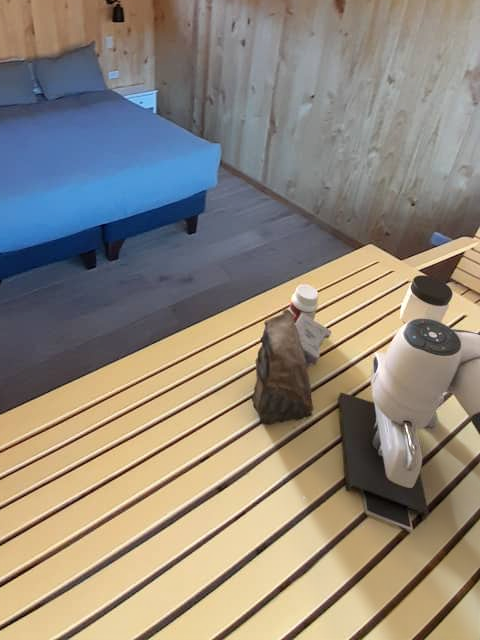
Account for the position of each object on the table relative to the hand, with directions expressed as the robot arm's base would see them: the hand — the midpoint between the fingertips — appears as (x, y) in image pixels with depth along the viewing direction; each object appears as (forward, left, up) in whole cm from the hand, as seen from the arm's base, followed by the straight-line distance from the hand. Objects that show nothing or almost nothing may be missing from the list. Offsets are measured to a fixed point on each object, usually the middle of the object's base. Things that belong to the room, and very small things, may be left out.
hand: (381, 442), depth 76 cm
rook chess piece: (-10, -11, -4) cm, 15 cm away
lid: (0, 0, -3) cm, 3 cm away
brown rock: (+18, -4, -4) cm, 19 cm away
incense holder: (+14, -16, -4) cm, 21 cm away
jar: (-15, -40, -4) cm, 43 cm away
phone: (0, +4, -3) cm, 5 cm away
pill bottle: (+14, -28, -4) cm, 31 cm away
